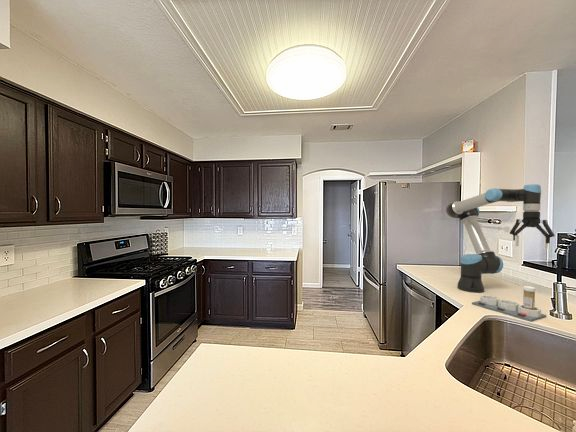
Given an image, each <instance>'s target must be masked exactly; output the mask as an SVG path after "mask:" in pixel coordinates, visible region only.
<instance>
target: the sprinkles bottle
mask: <svg viewBox="0 0 576 432" xmlns="http://www.w3.org/2000/svg"><path fill="white" fill-rule="evenodd" d="M522 290H523V298H522V299H523V301H522V305H523V308H525V309H529V310H534V308H535V307H536V305H535V304H536V301H535V299H536V298H535V297H536V287H534V286H530V285H529V286H528V285H524V286H523V288H522Z"/></svg>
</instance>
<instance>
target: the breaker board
mask: <svg viewBox="0 0 576 432" xmlns="http://www.w3.org/2000/svg"><path fill="white" fill-rule="evenodd" d="M479 298H480V299H479V300H477V301H474V302H473V301H472V302H471V305H472V306H476V307H480V308H484V309H487V310H490V311H493V312H497V313H500V314H503V315H507V316H510V317H514V318H517V319H520V320H523V321H527V322H531V323H532V322H534V321H535V322H536V321H539V320H541V319H544V318H547V314H544V313H542V309H541V308H539V307H536V306H535V308H534V310H529V309H525V308H523V304H519V302H517V301H512V300H509V299H508V300H507V299H500V298H499V297H497V296H494V295H493V296H492V295H487V294H486V295H485V294H483V295H480V296H479Z"/></svg>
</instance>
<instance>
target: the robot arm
mask: <svg viewBox="0 0 576 432" xmlns="http://www.w3.org/2000/svg"><path fill="white" fill-rule="evenodd" d="M541 196H542V187H541V185H540V184H525V185H524V186H523V188H518V189H517V188H516V189H513V188H510V189H509V188H490V189H487V190H486V191H485V192H483V193H481V194H477V195H475V196H472V197H469V198H466V199H463V200H461V201H460V200H459V201H458V200H457V201H453V202H450V203H449V204H448V205H447V206H446V208H445V212H446V215H448V216H449V217H450V218H452V219H459V221H460V223H462V224H463V225H464V227H465V230H466V233H467V234H468V237H469V239H470V242H471V244H472V247H473V249H474V252H475V253H467V254H463V255H462V256H461V259H460V277H459V280H458V283H457V285H456V287H457V289H459V290H461V291H465V292H469V293H484V292H485V286H484V284H483V281H482V275H483V274H484V275H487V274H488V275H489V274H490V275H493V274H499V273H500V272H501V271H502V270H503V268H504V262H503V261H504V260H503V259H502V258H501V257H500V256H498V255H496V254H495V252H494V251H493V250H491V248H490V245H489V243H488V241H487V239H486V237H485V234H484V232H483V230H482V228H481V225H480V223H479V221H478V219H479V215H480V209H479V208H480V207H484V206H486V205H489V204H493V203H497V202H506V203H507V202H508V203H513V202H514V203H515V202H517V203H518V202H523V208H522V210H523V212H522V219H521V218H519V219H518V218H517V219H516V220H515V223H514V224H513V226H512V228H511V230H510V232H509V235H512V236H513V238H512V240H513V241H514V247H519V246H520V243H519V242H520V239H519V238H520V236H519V234H520V233H521V232H522V231H524V229H526V228H535V229H537V230H538V231H539V232H540V233H541V234H542V235H543V236H544V237H543V248H542V249H543V250H548V247H549V245H548V244H550V243H551V238H553V237H555V233H554V232H553V230H552V228H551V227H550V225H549V224H548V223H549V222H548V220H547V219H541V198H542V197H541ZM521 223H522V224H521ZM540 224H542V225H543V227H544V228H545V229H544V228H543V227H542V226H541V225H540ZM519 226H520V227H519Z"/></svg>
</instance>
